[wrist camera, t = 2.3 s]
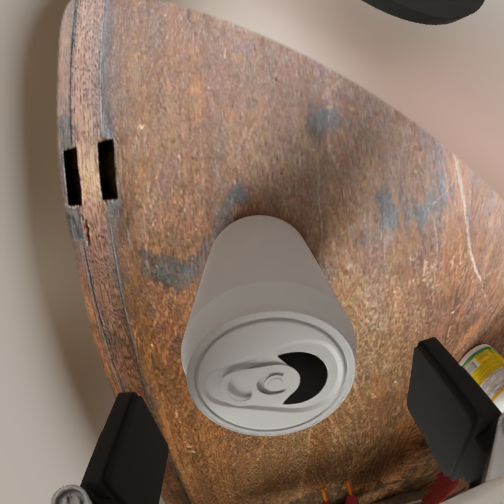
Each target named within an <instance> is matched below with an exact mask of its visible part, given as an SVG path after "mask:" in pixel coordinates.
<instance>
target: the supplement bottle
mask: <svg viewBox="0 0 504 504" xmlns="http://www.w3.org/2000/svg"><path fill="white" fill-rule="evenodd" d="M459 365H460V366H462V367H464V368H465V369H466V370H467V372H468V373H469V374H470V375H471V376H472V377H473V379H474V380H475V381H476V382H477V383H478V384H479V386H480V387H481V388H482V389H483V390H484V392H485V393H486V394H487V395H488V396H489V398H490V399H491V400H492V401H493V403H494V404H495V405H496V406H497V407H498V409H499V410H500V411H501V412H502V413H503V412H504V358H503V357H502V356H501V355H500V354H499V353H498V352H497V351H496V350H495V349H494V348H492V347H491V346H490V345H488V344H481V345H478V346H476V347H474V348H473V349H471V350H470V351H469V352H468V353H467V354H465V356H464V357H463V358H462V359H461V361H460V362H459Z"/></svg>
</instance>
